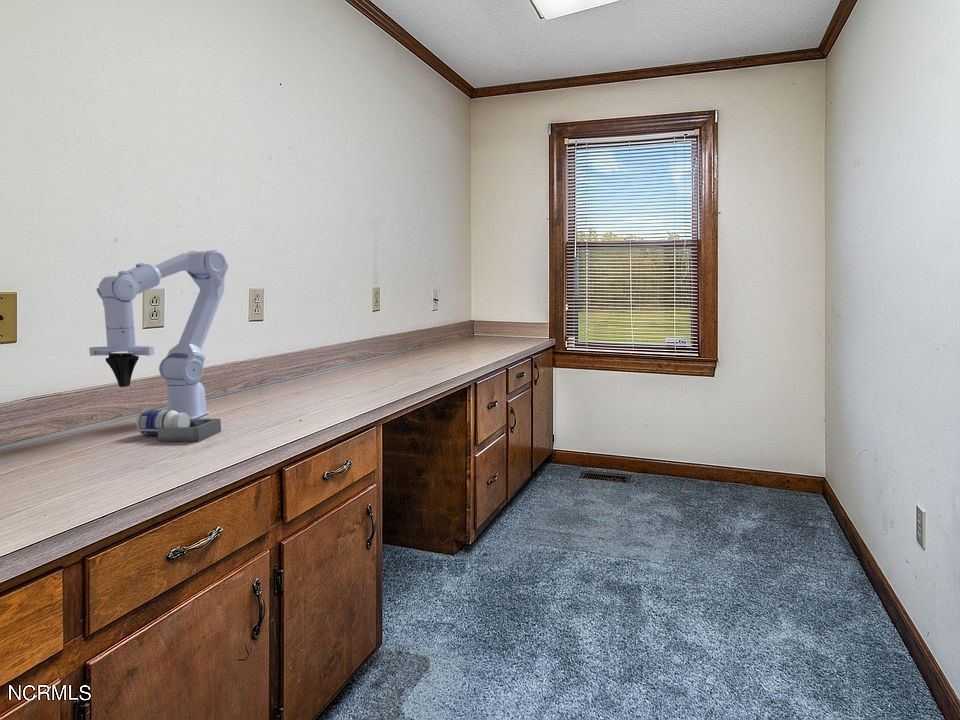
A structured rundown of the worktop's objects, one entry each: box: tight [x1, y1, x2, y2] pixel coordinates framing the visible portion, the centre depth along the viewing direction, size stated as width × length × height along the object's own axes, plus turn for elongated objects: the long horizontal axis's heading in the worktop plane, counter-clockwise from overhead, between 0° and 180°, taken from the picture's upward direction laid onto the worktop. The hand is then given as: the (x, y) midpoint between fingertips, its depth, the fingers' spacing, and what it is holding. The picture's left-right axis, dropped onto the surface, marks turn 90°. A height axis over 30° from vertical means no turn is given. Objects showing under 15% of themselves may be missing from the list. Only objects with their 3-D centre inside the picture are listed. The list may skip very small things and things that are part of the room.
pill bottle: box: [136, 409, 190, 436], centre depth 145 cm, size 6×6×10 cm
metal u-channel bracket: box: [157, 418, 222, 443], centre depth 144 cm, size 10×9×3 cm
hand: (124, 386), depth 150 cm, fingers closed
